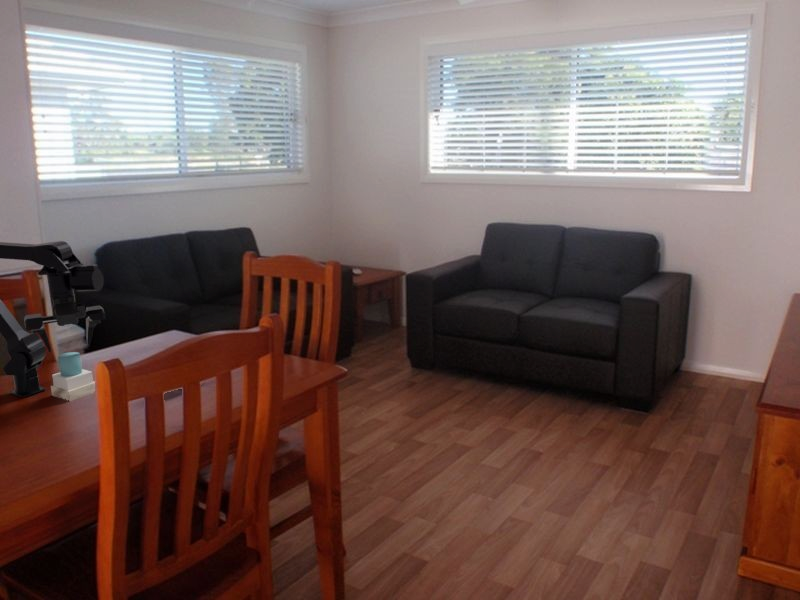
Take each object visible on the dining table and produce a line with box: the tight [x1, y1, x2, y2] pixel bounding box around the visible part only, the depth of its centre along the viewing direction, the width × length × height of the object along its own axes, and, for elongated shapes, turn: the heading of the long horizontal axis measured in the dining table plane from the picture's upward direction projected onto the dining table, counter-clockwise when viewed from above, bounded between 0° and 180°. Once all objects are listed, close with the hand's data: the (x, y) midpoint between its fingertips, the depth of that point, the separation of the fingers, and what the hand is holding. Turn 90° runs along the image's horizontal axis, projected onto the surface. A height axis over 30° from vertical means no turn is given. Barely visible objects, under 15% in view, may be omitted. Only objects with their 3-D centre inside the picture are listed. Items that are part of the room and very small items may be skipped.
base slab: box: [50, 380, 96, 402], centre depth 187 cm, size 8×8×3 cm
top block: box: [51, 368, 94, 391], centre depth 186 cm, size 7×7×3 cm
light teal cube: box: [57, 351, 83, 377], centre depth 185 cm, size 5×5×5 cm
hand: (69, 349), depth 185 cm, fingers open, 9 cm apart
